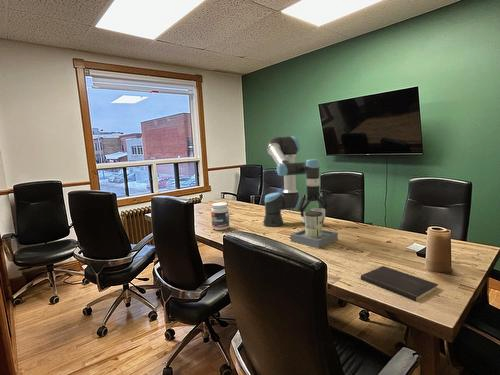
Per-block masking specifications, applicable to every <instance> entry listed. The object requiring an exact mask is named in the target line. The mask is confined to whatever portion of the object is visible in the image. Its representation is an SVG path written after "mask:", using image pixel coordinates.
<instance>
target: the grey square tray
mask: <svg viewBox="0 0 500 375" xmlns="http://www.w3.org/2000/svg"><path fill="white" fill-rule="evenodd" d="M322 235H323V236H322V237H320V238H309V237H306V236H305V228H304V229H301V230H299V231H296V232H293V233H290V235H289V236H290V242H292V243H296V244H299V245H303V246H308V247H311V248H315V249H320V248H322V247H326V246H328V245H329V244H332V243H334V242H336V241H339V232H336V231H332V230H326V229H322Z"/></svg>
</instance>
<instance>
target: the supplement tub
mask: <svg viewBox="0 0 500 375" xmlns="http://www.w3.org/2000/svg"><path fill="white" fill-rule="evenodd" d="M229 210H230V209H229V208H228V203H227V202H215V203H212V204H211V210H210V214H211V228H212V229H213V230H214V229H215V231H225V230H227V228H228V229H229V228H230V213H229V212H230V211H229ZM224 229H225V230H224Z"/></svg>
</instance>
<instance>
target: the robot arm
mask: <svg viewBox="0 0 500 375" xmlns="http://www.w3.org/2000/svg"><path fill="white" fill-rule="evenodd" d="M300 146H301V145H300V142H299V140H298V137H296V136H292V135H291V136H275V137H273V138H270V139H269V141H267V144H266V147H265V149H266V152H267V153H268V155H269V156H271V157H272V159H273V161H274V162H275V164H276V173H277V175H278V176H281V177H282V176H283V190H282V192H281V193H282V194H281V193H280V192H270V193H268V194H266V195H265V196H264V210H265V211H264V214H265V215H264V219H263V222H262V223H263V226H264V227H270V228H275V227H281V226H284V220H283V217H282V212H281V211H285V210H295V209H297V211H299V212H300V217H301V222H302V223H305V212H306V211H305V210H306V209H307V207H308V206H309V204H310V203H311V202H317V203H318V204H319V205H320V206H321V207H320V208H321V210H322V219H324V221H325V220H326V214H327V209H328V208H329V207H330V204H329V203H328V201H327V198H326V197H325V192H322V191H321V192H320V190H321V188H320V160H319V159H317V158H312V159H306V161H301V162H300V161H299V162H296V156H297V155H298V152H300V149H301V148H300ZM298 175H299V176H300V175H305V176H306V180H305V181H306V184H305V185H306V194H304V193H303V194H301V193H299V191H298V189H297V183H296V182H297V180H296V176H298Z"/></svg>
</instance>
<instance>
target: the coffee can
mask: <svg viewBox="0 0 500 375" xmlns="http://www.w3.org/2000/svg"><path fill="white" fill-rule="evenodd" d="M304 225H305V226H304V229H305V236H306V237H309V238H320V237H322V236H323V235H322V230H323V225H322V212H318V211H312V210H310V211H309V210H308V211H305V222H304Z"/></svg>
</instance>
